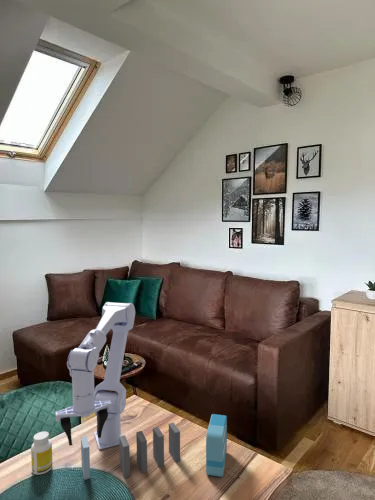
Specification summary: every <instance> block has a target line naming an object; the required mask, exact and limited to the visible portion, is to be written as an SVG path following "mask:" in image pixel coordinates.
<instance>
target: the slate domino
mask: <svg viewBox="0 0 375 500" xmlns="http://www.w3.org/2000/svg"><path fill="white" fill-rule="evenodd" d="M80 448H81V449H80V451H81V453H80V454H81V455H80V456H81V459H80V460H81V470H82V476H83V480H84V481H86V480H89V479H91V458H90V457H91V455H90V454H91V453H90V452H91V451H90V443H89V439H88V437H87V436H84V437H80Z"/></svg>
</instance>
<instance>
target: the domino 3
mask: <svg viewBox="0 0 375 500" xmlns="http://www.w3.org/2000/svg"><path fill="white" fill-rule="evenodd" d="M152 457H153V459H154V462H155V463H156V465H157V467H158V468H162V467H164V466H165V436H164V434H163V432H162V431H161V429H160V428H159V426H155V427H152Z"/></svg>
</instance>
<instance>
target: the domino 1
mask: <svg viewBox="0 0 375 500" xmlns="http://www.w3.org/2000/svg"><path fill="white" fill-rule="evenodd" d="M118 446H119V468H120V471H121V473H122V476H123V479H128V478H130V477H131V470H130V469H131V466H130V465H131V464H130V463H131V462H130V461H131V458H130V457H131V456H130V444H129V442H128V439H127V437H126V435H122V436H120V437H119V445H118Z"/></svg>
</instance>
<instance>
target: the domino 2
mask: <svg viewBox="0 0 375 500" xmlns="http://www.w3.org/2000/svg"><path fill="white" fill-rule="evenodd" d="M135 438H136V463H137V466H138V467H139V469H140V472H141V474H142V473H146V472H148V440H147V438H146V435H145V434H144V432H143V430H139V431H136V437H135Z"/></svg>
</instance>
